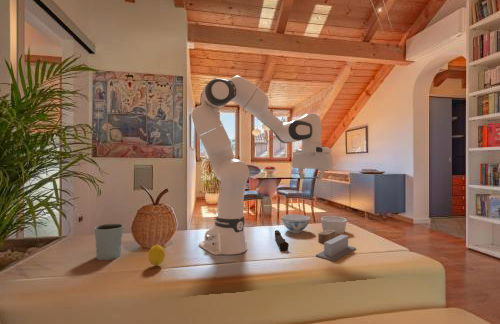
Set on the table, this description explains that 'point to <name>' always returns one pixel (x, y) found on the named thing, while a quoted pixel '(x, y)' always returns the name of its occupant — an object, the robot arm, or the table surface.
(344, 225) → the ramekin
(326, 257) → the tool mat
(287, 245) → the hand tool
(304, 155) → the robot arm
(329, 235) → the walnut block
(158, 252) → the lemon
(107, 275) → the table surface
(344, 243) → the bar
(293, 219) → the chinaware
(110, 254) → the blue-grey cup
